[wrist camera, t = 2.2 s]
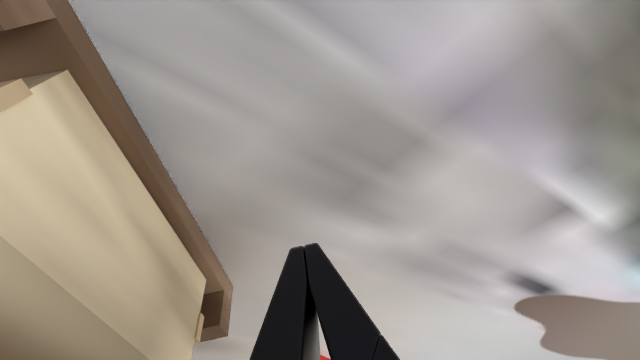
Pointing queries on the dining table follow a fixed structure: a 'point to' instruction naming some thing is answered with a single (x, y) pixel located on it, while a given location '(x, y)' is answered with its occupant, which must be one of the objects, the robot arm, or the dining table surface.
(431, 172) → the dining table surface
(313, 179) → the dining table surface
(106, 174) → the cream slab
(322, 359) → the baking soda box
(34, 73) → the crate bay
